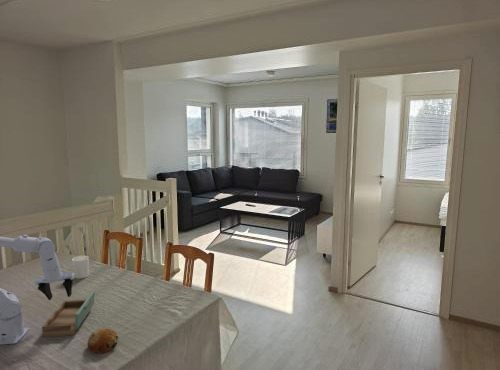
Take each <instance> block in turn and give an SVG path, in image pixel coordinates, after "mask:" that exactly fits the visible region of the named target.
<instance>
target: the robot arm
mask: <svg viewBox="0 0 500 370" xmlns="http://www.w3.org/2000/svg"><path fill="white" fill-rule="evenodd" d="M0 247H1V248H12V249H13V251H14V252H20V253H31V254H32V253H33V254H35V253H38V255H39V260H40V261H39V262H40V264H41V267H42V271H43V274H44V276H43V277H39V278H36V279H35V280H34V281H33V282H34V285H35V286H37V290H38V291H40V292H41V293H43V294H44V296H45V297H46V298H47V300H48V301H51V300H52V299H53V294H52V293H53V292H52V290H51V284H52V283H56V282H60V281H63V282H62V286H63V287H64V289H65V293H66V296H67V297H68V298H69V297H71V296H72V294H73V293H72V288H73V281H74V279H76V278H75V275H74V272H68V273H67V272H62V269H61V266H60V263H59V259H58V256H57V254H56V245H55V243H54V242H53V241H52V240H51V239H50V238H48V237H45V236H42V237H41V236H38V237H33V236H32V237H31V236H28V234H22V235H18V236H16V237H14V238H12V237H6V236H0ZM50 283H51V284H50ZM30 329H31V328H30V327H25V324H24V315H23V310H22V304H21V303H20V301H19V299H18V295H17V294H15V293H14V292H9V291H7V290H6V289H4V288H1V287H0V345H9V344H10V345H12V344H17V343H19V342H20V341H21V339H22V338H23V337H24V336H25V335H26V333H27V332H29V330H30Z"/></svg>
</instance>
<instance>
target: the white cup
mask: <svg viewBox="0 0 500 370" xmlns="http://www.w3.org/2000/svg"><path fill="white" fill-rule="evenodd" d="M89 258H90V257H89V256H88V255H78V256H74V257H73V258H72V259H71V261H72V262H71V263H72V269H73V273H74V275H75V278H74V279H79V280H80V279H85V278H87V277H89V275H90V274H89V272H90V271H89V270H90V261H89V260H90V259H89Z"/></svg>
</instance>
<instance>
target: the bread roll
mask: <svg viewBox="0 0 500 370" xmlns="http://www.w3.org/2000/svg"><path fill="white" fill-rule="evenodd" d="M118 339H119V336H118V334H117V332H116V331H115V330H114V329H113V328H112V327H101V328H98V329H96V330H95V331H94V332H92V333H91V334H90V336H89V337H88V340H87V348H88V350H89V352H91V353H94V354H96V355H98V354H105V353H108V352H110V351H112V350H114V349H115V348H116V347H117V345H118V342H119V340H118Z"/></svg>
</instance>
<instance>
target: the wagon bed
mask: <svg viewBox="0 0 500 370" xmlns="http://www.w3.org/2000/svg"><path fill="white" fill-rule="evenodd" d="M85 301H86V299H76V300H64V301H63V302H62V303H61V304H60V305H59V306H58V307H57V309H56V310H55V311H54V312H53V314H52V315H50V316H49V318H48V319H47V321H46V322H45V323H44V324H43V325H42V326H41V331H42V337H43V338H44V337H46V338H47V337H61V336H62V337H63V336H75V333H76V332H77V331H78V329H79V327H80V326H81V324H82V323H83V321H84V320H85V319H86V317H87V316H88V314H89V313H90V311H91V310H92V308H91V309H90V311H89V312H88V314H87V315H86V317H85V318H84V320H83V321H82V323H81V324H80V326H79V327H78V329H75V314H76V313H77V312H78V310H79V309H80V308H81V306H82V305H83V303H84V302H85Z"/></svg>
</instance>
